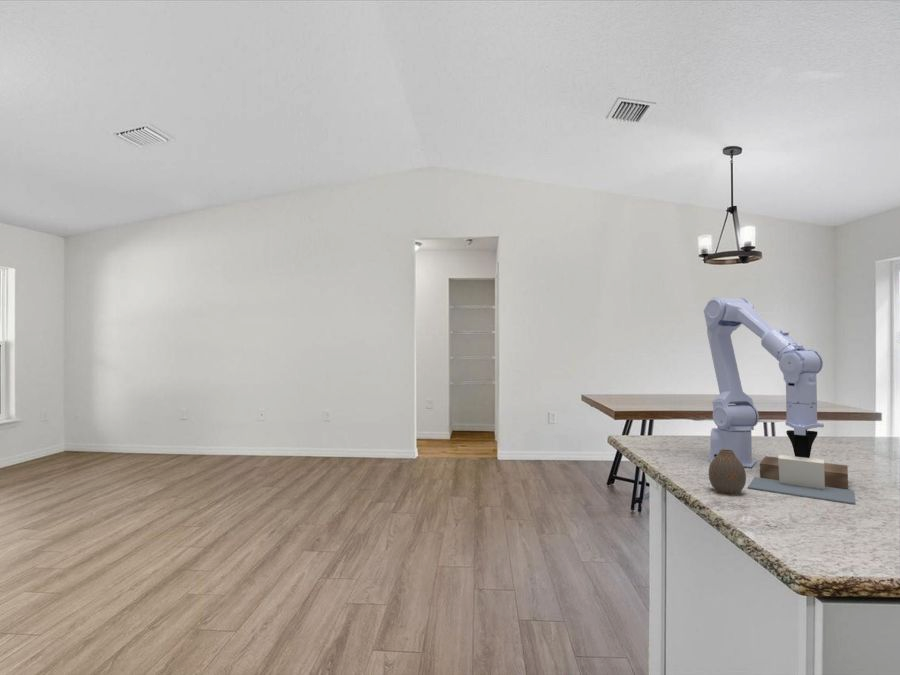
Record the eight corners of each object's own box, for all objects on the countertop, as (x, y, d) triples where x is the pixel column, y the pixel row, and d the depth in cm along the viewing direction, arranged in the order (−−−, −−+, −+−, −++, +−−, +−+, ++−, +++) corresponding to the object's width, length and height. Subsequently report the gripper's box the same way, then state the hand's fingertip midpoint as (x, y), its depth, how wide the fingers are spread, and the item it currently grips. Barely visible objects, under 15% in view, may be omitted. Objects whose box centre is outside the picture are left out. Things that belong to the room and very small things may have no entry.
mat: (747, 488, 107) (747, 487, 107) (754, 478, 115) (754, 476, 115) (855, 504, 95) (855, 503, 95) (854, 491, 104) (854, 490, 104)
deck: (760, 478, 115) (759, 463, 115) (765, 470, 123) (765, 456, 123) (848, 490, 105) (847, 474, 105) (847, 480, 113) (847, 465, 113)
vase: (704, 492, 104) (704, 450, 104) (714, 485, 109) (713, 445, 109) (741, 498, 99) (741, 455, 100) (749, 491, 104) (749, 450, 105)
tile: (780, 479, 111) (779, 483, 110) (779, 454, 110) (778, 458, 109) (824, 485, 106) (824, 489, 105) (823, 459, 105) (823, 463, 104)
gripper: (822, 407, 104) (823, 471, 104) (824, 401, 115) (825, 459, 115) (782, 404, 108) (783, 466, 108) (787, 399, 120) (788, 455, 119)
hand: (802, 463), depth 112 cm, fingers closed
